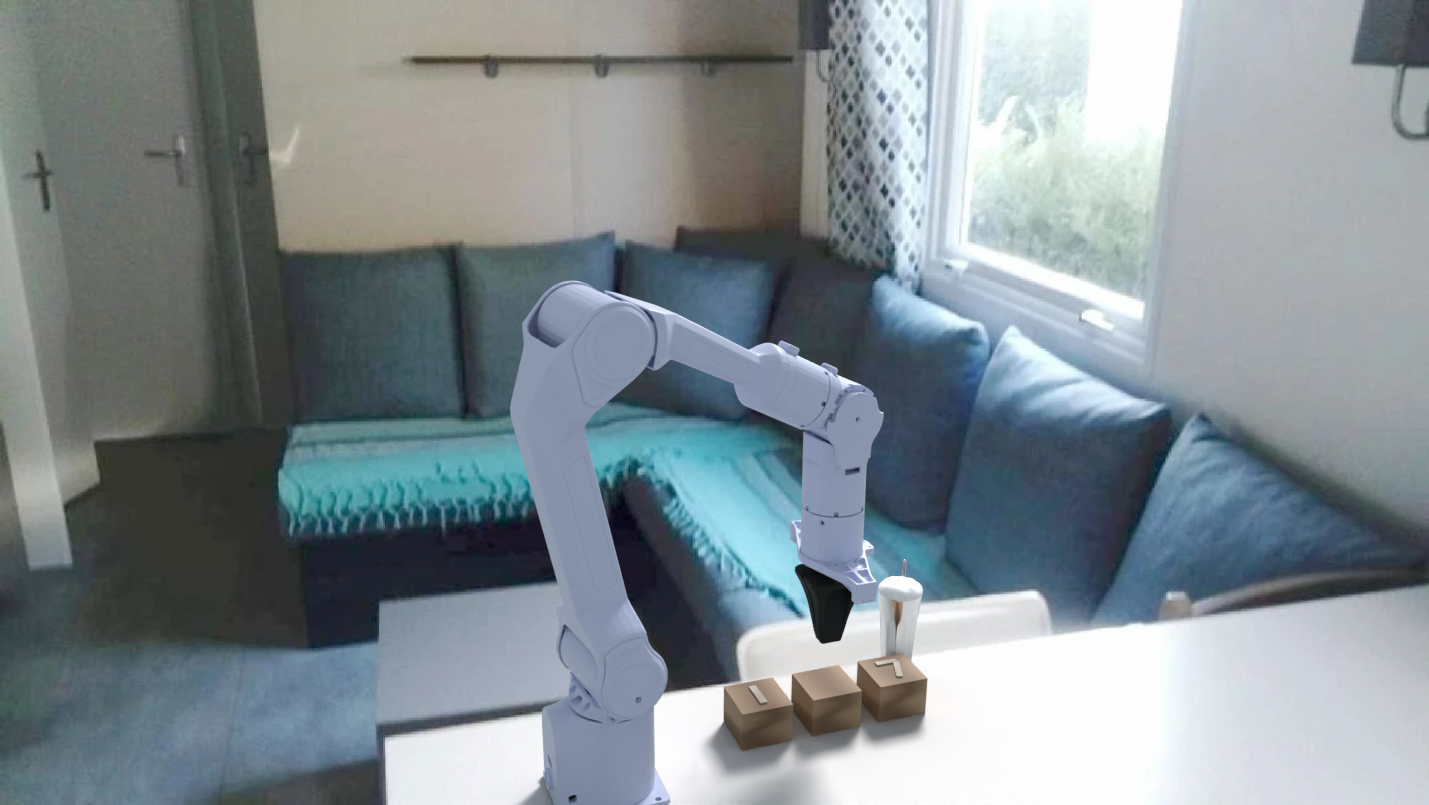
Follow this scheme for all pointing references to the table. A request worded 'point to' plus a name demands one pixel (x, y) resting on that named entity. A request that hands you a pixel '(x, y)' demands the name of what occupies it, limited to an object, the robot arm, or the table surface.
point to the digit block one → (758, 714)
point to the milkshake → (898, 613)
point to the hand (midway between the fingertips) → (828, 639)
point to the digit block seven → (892, 687)
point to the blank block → (826, 700)
